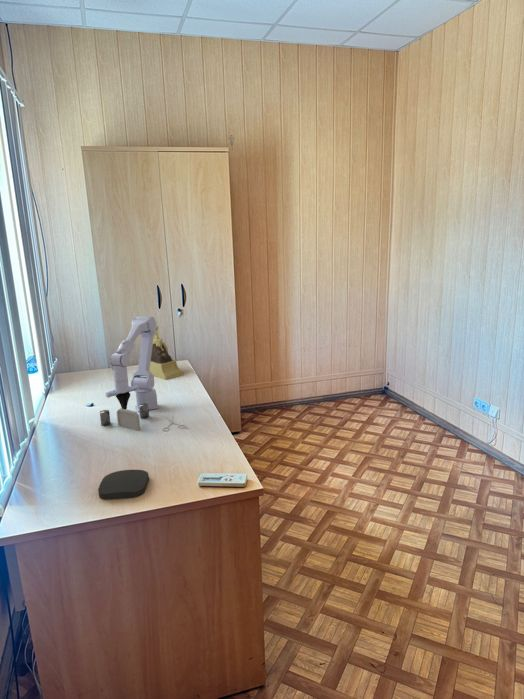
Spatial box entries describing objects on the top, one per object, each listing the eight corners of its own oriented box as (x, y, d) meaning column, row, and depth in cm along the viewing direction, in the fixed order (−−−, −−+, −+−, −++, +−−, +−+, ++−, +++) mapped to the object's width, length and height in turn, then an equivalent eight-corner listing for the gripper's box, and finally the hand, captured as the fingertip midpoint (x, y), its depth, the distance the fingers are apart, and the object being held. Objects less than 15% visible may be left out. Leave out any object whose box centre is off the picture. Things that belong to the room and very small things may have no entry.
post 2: (148, 415, 217) (147, 402, 215) (150, 417, 213) (148, 405, 212) (139, 416, 215) (138, 404, 214) (141, 419, 211) (139, 406, 210)
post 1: (110, 422, 210) (108, 409, 208) (111, 425, 206) (109, 412, 205) (100, 423, 208) (99, 410, 207) (101, 426, 205) (100, 413, 203)
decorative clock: (183, 375, 280) (179, 325, 273) (165, 380, 271) (161, 328, 264) (156, 367, 299) (152, 320, 292) (138, 372, 290) (134, 324, 283)
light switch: (137, 431, 199) (135, 413, 197) (118, 425, 205) (116, 408, 203) (140, 429, 200) (138, 412, 198) (121, 424, 206) (119, 407, 205)
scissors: (163, 432, 195) (157, 416, 214) (163, 434, 196) (157, 417, 214) (188, 428, 199) (180, 412, 217) (188, 430, 199) (180, 414, 217)
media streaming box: (143, 498, 147) (142, 489, 146) (96, 501, 146) (94, 493, 145) (150, 475, 161) (150, 467, 160) (107, 478, 160) (106, 470, 159)
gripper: (132, 374, 214) (135, 402, 217) (101, 381, 205) (104, 411, 208) (139, 377, 209) (142, 406, 212) (108, 384, 199) (111, 415, 203)
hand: (124, 409), depth 209 cm, fingers closed
